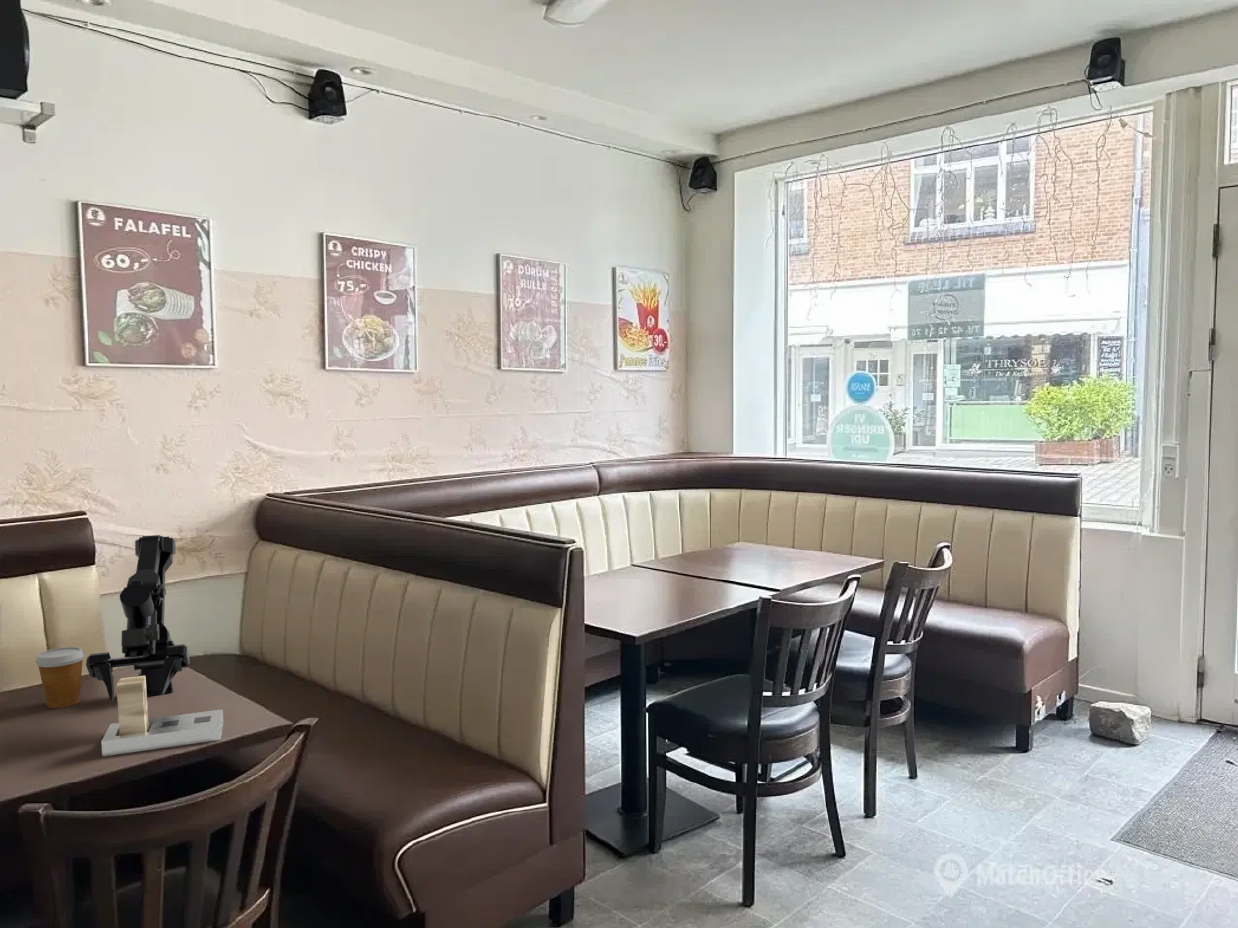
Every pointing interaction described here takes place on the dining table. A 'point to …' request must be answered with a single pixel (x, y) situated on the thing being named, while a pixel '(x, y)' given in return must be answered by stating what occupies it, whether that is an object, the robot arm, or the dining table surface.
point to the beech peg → (132, 705)
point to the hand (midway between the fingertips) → (136, 697)
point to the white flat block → (166, 733)
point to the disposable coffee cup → (61, 675)
